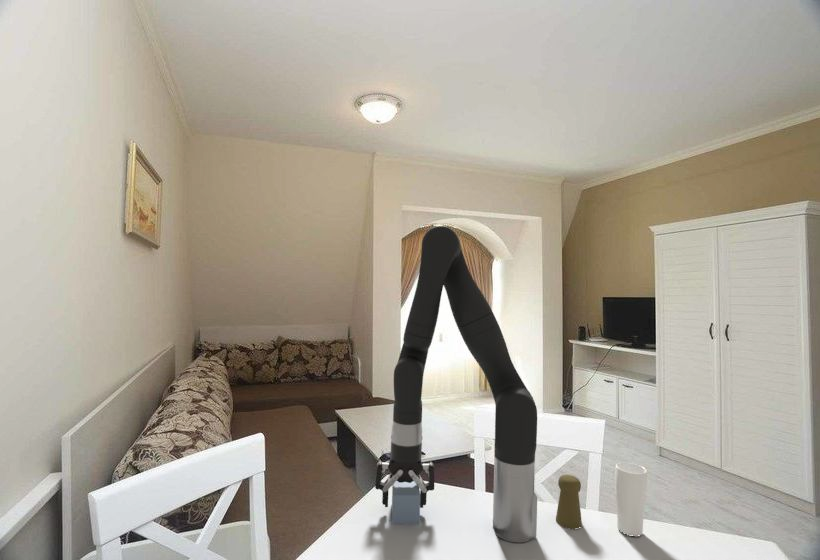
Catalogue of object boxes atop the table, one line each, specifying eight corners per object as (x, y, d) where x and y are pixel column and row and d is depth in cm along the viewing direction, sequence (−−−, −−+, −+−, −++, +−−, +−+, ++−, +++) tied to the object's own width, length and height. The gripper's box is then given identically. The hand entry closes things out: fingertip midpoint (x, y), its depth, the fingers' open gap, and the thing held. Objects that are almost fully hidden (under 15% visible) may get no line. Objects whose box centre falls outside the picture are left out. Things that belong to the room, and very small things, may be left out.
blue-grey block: (391, 510, 108) (392, 478, 108) (417, 510, 108) (417, 478, 108) (391, 530, 99) (392, 495, 99) (419, 530, 100) (420, 495, 100)
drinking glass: (650, 542, 97) (651, 475, 97) (618, 537, 99) (619, 472, 99) (640, 525, 104) (641, 463, 104) (610, 521, 105) (611, 460, 105)
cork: (581, 518, 107) (581, 473, 107) (583, 531, 101) (584, 484, 101) (555, 513, 108) (556, 470, 109) (555, 526, 103) (556, 480, 103)
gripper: (434, 434, 108) (431, 498, 108) (377, 432, 108) (375, 497, 107) (437, 445, 101) (434, 514, 101) (376, 444, 100) (373, 513, 100)
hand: (403, 506), depth 104 cm, fingers open, 8 cm apart
